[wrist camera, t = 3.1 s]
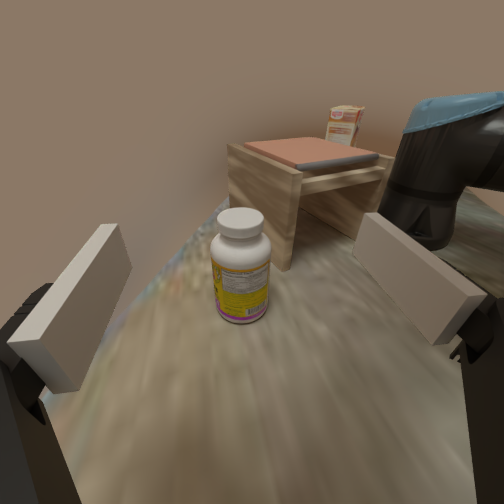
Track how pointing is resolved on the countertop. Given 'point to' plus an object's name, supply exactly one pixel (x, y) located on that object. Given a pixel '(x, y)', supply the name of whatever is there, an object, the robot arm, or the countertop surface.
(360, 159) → the trapdoor
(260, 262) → the supplement bottle
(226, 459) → the countertop surface
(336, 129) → the coffeecake box
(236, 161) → the stand
